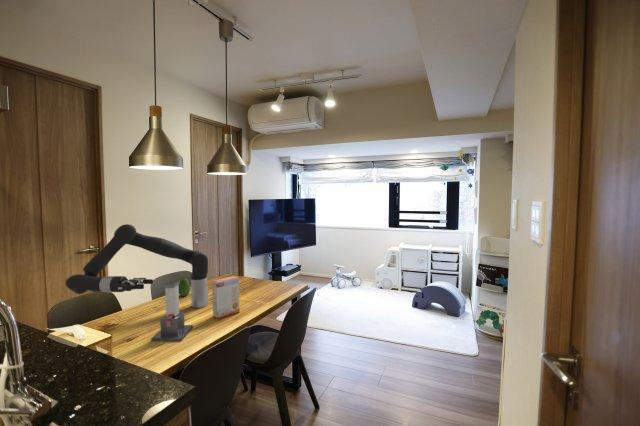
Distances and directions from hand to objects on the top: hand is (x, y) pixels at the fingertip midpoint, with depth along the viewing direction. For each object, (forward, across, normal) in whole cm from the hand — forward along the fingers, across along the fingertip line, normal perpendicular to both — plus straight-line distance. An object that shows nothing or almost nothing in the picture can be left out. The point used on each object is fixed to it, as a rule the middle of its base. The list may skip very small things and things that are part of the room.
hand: (148, 284), depth 147 cm
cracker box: (+31, +25, +25) cm, 47 cm away
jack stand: (+11, 0, +25) cm, 28 cm away
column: (+11, 0, +24) cm, 26 cm away
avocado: (-6, +58, +25) cm, 64 cm away
